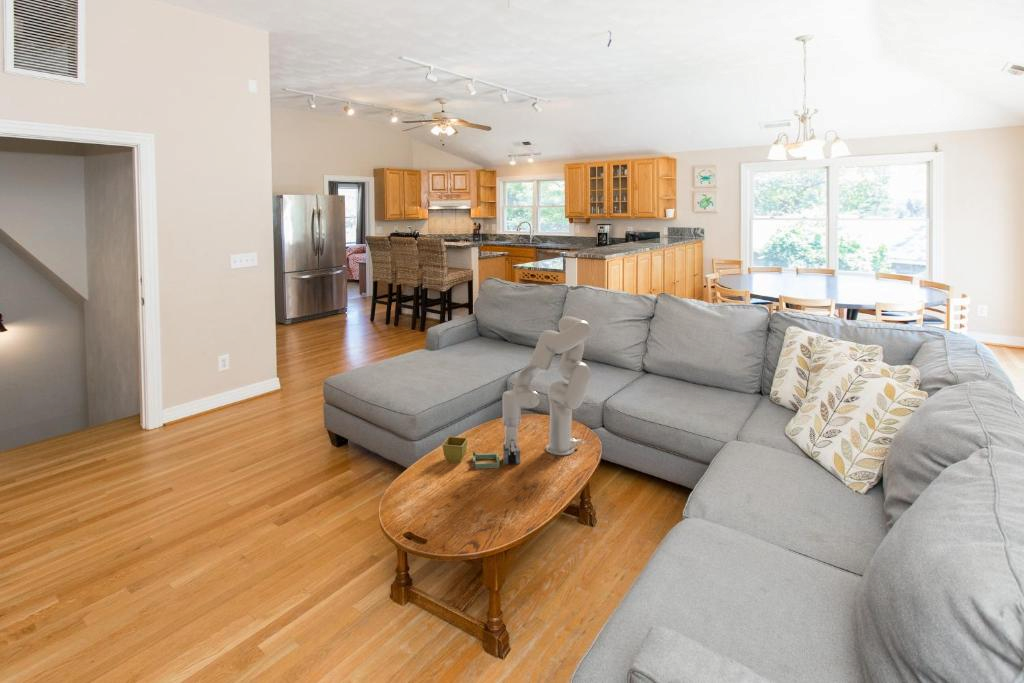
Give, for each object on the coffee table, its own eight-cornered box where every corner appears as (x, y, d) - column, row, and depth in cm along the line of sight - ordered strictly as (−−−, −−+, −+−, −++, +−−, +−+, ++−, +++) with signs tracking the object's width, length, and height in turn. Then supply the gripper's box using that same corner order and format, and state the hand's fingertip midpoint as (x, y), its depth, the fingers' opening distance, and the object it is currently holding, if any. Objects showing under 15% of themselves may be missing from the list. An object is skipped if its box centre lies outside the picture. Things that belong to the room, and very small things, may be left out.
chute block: (519, 458, 245) (519, 444, 244) (520, 463, 240) (520, 448, 239) (503, 459, 245) (503, 444, 243) (503, 464, 240) (503, 449, 238)
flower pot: (462, 466, 238) (462, 446, 236) (442, 464, 240) (441, 444, 238) (468, 457, 247) (467, 437, 244) (448, 455, 248) (448, 436, 246)
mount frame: (498, 457, 246) (498, 450, 245) (499, 467, 236) (499, 460, 236) (473, 458, 246) (472, 451, 245) (473, 468, 236) (472, 461, 235)
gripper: (501, 413, 246) (501, 452, 251) (503, 428, 230) (503, 469, 234) (518, 412, 247) (518, 451, 251) (522, 427, 230) (522, 468, 234)
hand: (511, 459), depth 242 cm, fingers open, 5 cm apart
